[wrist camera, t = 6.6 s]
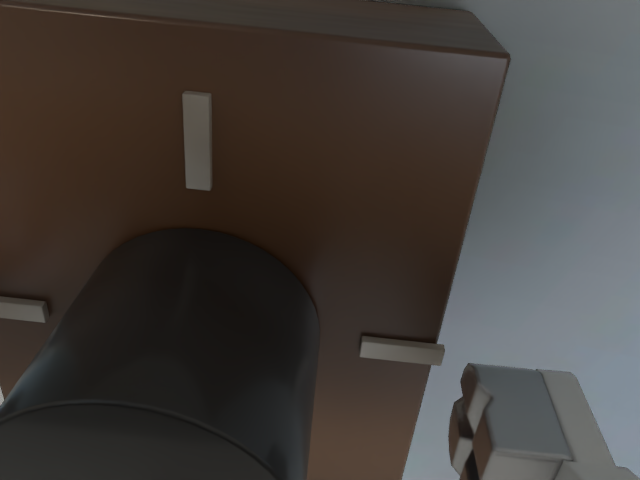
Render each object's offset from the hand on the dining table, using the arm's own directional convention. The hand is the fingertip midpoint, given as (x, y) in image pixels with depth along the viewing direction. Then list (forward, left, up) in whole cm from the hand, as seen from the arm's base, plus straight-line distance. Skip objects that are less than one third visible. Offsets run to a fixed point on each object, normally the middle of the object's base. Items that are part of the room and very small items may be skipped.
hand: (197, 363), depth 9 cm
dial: (0, 0, -1) cm, 1 cm away
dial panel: (0, 0, -4) cm, 4 cm away
